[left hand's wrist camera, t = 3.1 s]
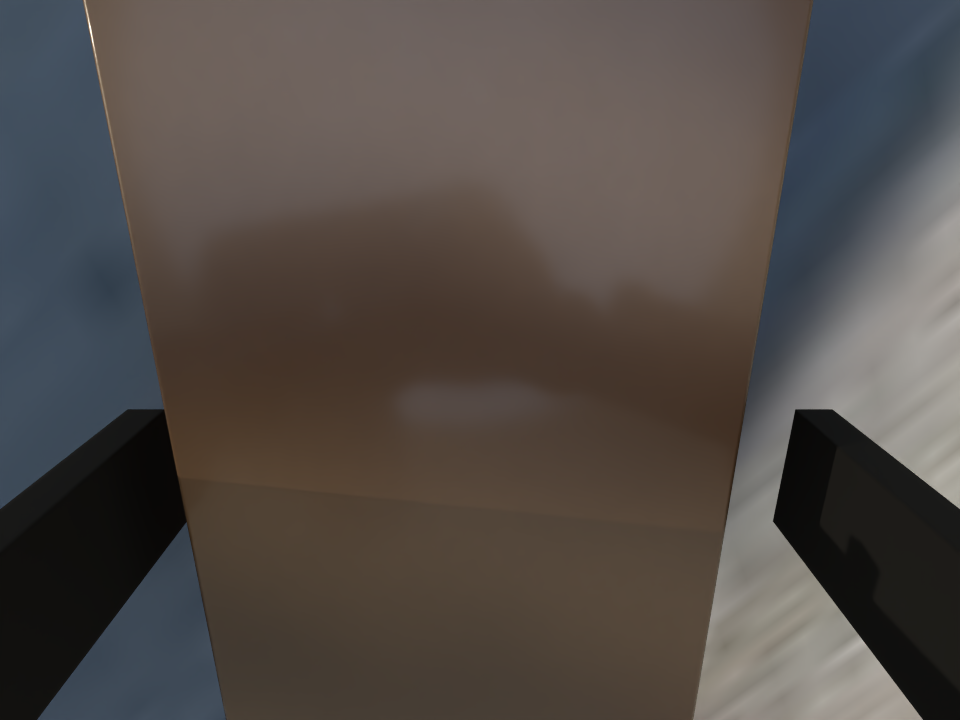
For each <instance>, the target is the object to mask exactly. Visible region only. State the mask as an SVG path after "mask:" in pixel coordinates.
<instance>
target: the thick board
mask: <svg viewBox="0 0 960 720" xmlns="http://www.w3.org/2000/svg"><path fill="white" fill-rule="evenodd" d="M83 4H84V9H85V14H86V19H87V24H88V29H89V34H90V39H91V44H92V49H93V54H94V59H95V64H96V69H97V74H98V79H99V84H100V89H101V94H102V99H103V104H104V109H105V114H106V119H107V124H108V129H109V134H110V139H111V144H112V149H113V154H114V159H115V164H116V169H117V174H118V179H119V184H120V189H121V194H122V199H123V204H124V209H125V215H126V220H127V225H128V230H129V235H130V240H131V245H132V250H133V255H134V260H135V265H136V270H137V275H138V280H139V285H140V290H141V295H142V300H143V305H144V310H145V315H146V320H147V325H148V330H149V335H150V340H151V345H152V350H153V355H154V360H155V365H156V370H157V375H158V380H159V385H160V390H161V395H162V400H163V405H164V410H165V415H166V420H167V425H168V430H169V435H170V440H171V445H172V450H173V455H174V460H175V465H176V470H177V475H178V480H179V485H180V490H181V495H182V501H183V506H184V511H185V516H186V521H187V526H188V531H189V536H190V541H191V546H192V551H193V556H194V561H195V566H196V571H197V576H198V581H199V586H200V591H201V596H202V601H203V606H204V611H205V616H206V621H207V626H208V631H209V636H210V641H211V646H212V651H213V656H214V661H215V666H216V671H217V676H218V681H219V686H220V691H221V696H222V701H223V706H224V711H225V716H226V720H693V717H694V711H695V705H696V699H697V693H698V687H699V681H700V675H701V669H702V663H703V657H704V651H705V645H706V639H707V633H708V627H709V621H710V615H711V609H712V604H713V598H714V592H715V586H716V580H717V574H718V568H719V562H720V556H721V550H722V544H723V538H724V532H725V526H726V520H727V514H728V508H729V502H730V496H731V490H732V484H733V478H734V472H735V466H736V460H737V454H738V448H739V442H740V436H741V430H742V424H743V418H744V412H745V406H746V400H747V394H748V388H749V382H750V376H751V370H752V364H753V358H754V352H755V346H756V340H757V334H758V328H759V322H760V316H761V311H762V305H763V299H764V293H765V287H766V281H767V275H768V269H769V263H770V257H771V251H772V245H773V239H774V233H775V227H776V221H777V215H778V209H779V203H780V197H781V191H782V185H783V179H784V173H785V167H786V161H787V155H788V149H789V143H790V137H791V131H792V125H793V119H794V113H795V107H796V101H797V95H798V89H799V83H800V77H801V71H802V65H803V59H804V53H805V47H806V41H807V35H808V29H809V24H810V18H811V12H812V6H813V0H83Z"/></svg>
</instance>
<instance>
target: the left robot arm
mask: <svg viewBox="0 0 960 720" xmlns="http://www.w3.org/2000/svg"><path fill="white" fill-rule="evenodd" d="M186 522H187V521H186V516H185V511H184V506H183V501H182V495H181V490H180V485H179V480H178V475H177V470H176V465H175V460H174V455H173V450H172V445H171V440H170V435H169V430H168V425H167V420H166V415H165V410H164V409H128V410H126V411H125V412H124V413H123V414H121V415H120V416H119V417H117V418H116V419H115V420H114V421H112V422H111V423H110V424H109V425H107V426H106V427H105V428H103V429H102V430H101V431H100V432H98V433H97V434H96V435H94V436H93V437H92V438H91V439H89V440H88V441H87V442H86V443H84V444H83V445H82V446H80V447H79V448H78V449H77V450H75V451H74V452H73V453H71V454H70V455H69V456H68V457H66V458H65V459H64V460H63V461H61V462H60V463H59V464H57V465H56V466H55V467H54V468H52V469H51V470H50V471H48V472H47V473H46V474H45V475H43V476H42V477H41V478H39V479H38V480H37V481H36V482H34V483H33V484H32V485H31V486H29V487H28V488H27V489H25V490H24V491H23V492H22V493H20V494H19V495H18V496H16V497H15V498H14V499H13V500H11V501H10V502H9V503H8V504H6V505H5V506H4V507H2V508H1V509H0V720H37V719H38V718H39V716H40V715H41V714H42V712H43V711H44V710H45V708H46V707H47V706H48V704H49V703H50V702H51V700H52V699H53V698H54V696H55V695H56V694H57V692H58V691H59V690H60V689H61V687H62V686H63V685H64V683H65V682H66V681H67V679H68V678H69V677H70V675H71V674H72V673H73V671H74V670H75V669H76V667H77V666H78V665H79V663H80V662H81V661H82V659H83V658H84V657H85V655H86V654H87V653H88V651H89V650H90V649H91V648H92V646H93V645H94V644H95V642H96V641H97V640H98V638H99V637H100V636H101V634H102V633H103V632H104V630H105V629H106V628H107V626H108V625H109V624H110V622H111V621H112V620H113V618H114V617H115V616H116V614H117V613H118V612H119V611H120V609H121V608H122V607H123V605H124V604H125V603H126V601H127V600H128V599H129V597H130V596H131V595H132V593H133V592H134V591H135V589H136V588H137V587H138V585H139V584H140V583H141V581H142V580H143V579H144V577H145V576H146V575H147V573H148V572H149V571H150V570H151V568H152V567H153V566H154V564H155V563H156V562H157V560H158V559H159V558H160V556H161V555H162V554H163V552H164V551H165V550H166V548H167V547H168V546H169V544H170V543H171V542H172V540H173V539H174V538H175V536H176V535H177V534H178V532H179V531H180V530H181V529H182V527H183V526H184V525H185V523H186ZM773 522H774V523H775V525H776V526H777V527H778V529H779V530H780V531H781V532H782V534H783V535H784V536H785V538H786V539H787V540H788V542H789V543H790V544H791V546H792V547H793V548H794V550H795V551H796V552H797V554H798V555H799V556H800V558H801V559H802V560H803V562H804V563H805V564H806V566H807V567H808V568H809V570H810V571H811V572H812V573H813V575H814V576H815V577H816V579H817V580H818V581H819V583H820V584H821V585H822V587H823V588H824V589H825V591H826V592H827V593H828V595H829V596H830V597H831V599H832V600H833V601H834V603H835V604H836V605H837V607H838V608H839V609H840V611H841V612H842V613H843V614H844V616H845V617H846V618H847V620H848V621H849V622H850V624H851V625H852V626H853V628H854V629H855V630H856V632H857V633H858V634H859V636H860V637H861V638H862V640H863V641H864V642H865V644H866V645H867V646H868V648H869V649H870V650H871V651H872V653H873V654H874V655H875V657H876V658H877V659H878V661H879V662H880V663H881V665H882V666H883V667H884V669H885V670H886V671H887V673H888V674H889V675H890V677H891V678H892V679H893V681H894V682H895V683H896V685H897V686H898V687H899V689H900V690H901V691H902V692H903V694H904V695H905V696H906V698H907V699H908V700H909V702H910V703H911V704H912V706H913V707H914V708H915V710H916V711H917V712H918V714H919V715H920V716H921V718H922V719H923V720H960V509H959V508H958V507H956V506H955V505H954V504H952V503H951V502H950V501H949V500H947V499H946V498H945V497H944V496H942V495H941V494H940V493H938V492H937V491H936V490H935V489H933V488H932V487H931V486H929V485H928V484H927V483H926V482H924V481H923V480H922V479H921V478H919V477H918V476H917V475H915V474H914V473H913V472H912V471H910V470H909V469H908V468H906V467H905V466H904V465H903V464H901V463H900V462H899V461H897V460H896V459H895V458H894V457H892V456H891V455H890V454H889V453H887V452H886V451H885V450H883V449H882V448H881V447H880V446H878V445H877V444H876V443H874V442H873V441H872V440H871V439H869V438H868V437H867V436H866V435H864V434H863V433H862V432H860V431H859V430H858V429H857V428H855V427H854V426H853V425H851V424H850V423H849V422H848V421H846V420H845V419H844V418H843V417H841V416H840V415H839V414H837V413H836V412H835V411H834V410H832V409H795V414H794V419H793V424H792V429H791V434H790V439H789V444H788V449H787V454H786V459H785V464H784V469H783V474H782V479H781V484H780V489H779V494H778V499H777V504H776V509H775V514H774V519H773Z"/></svg>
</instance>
